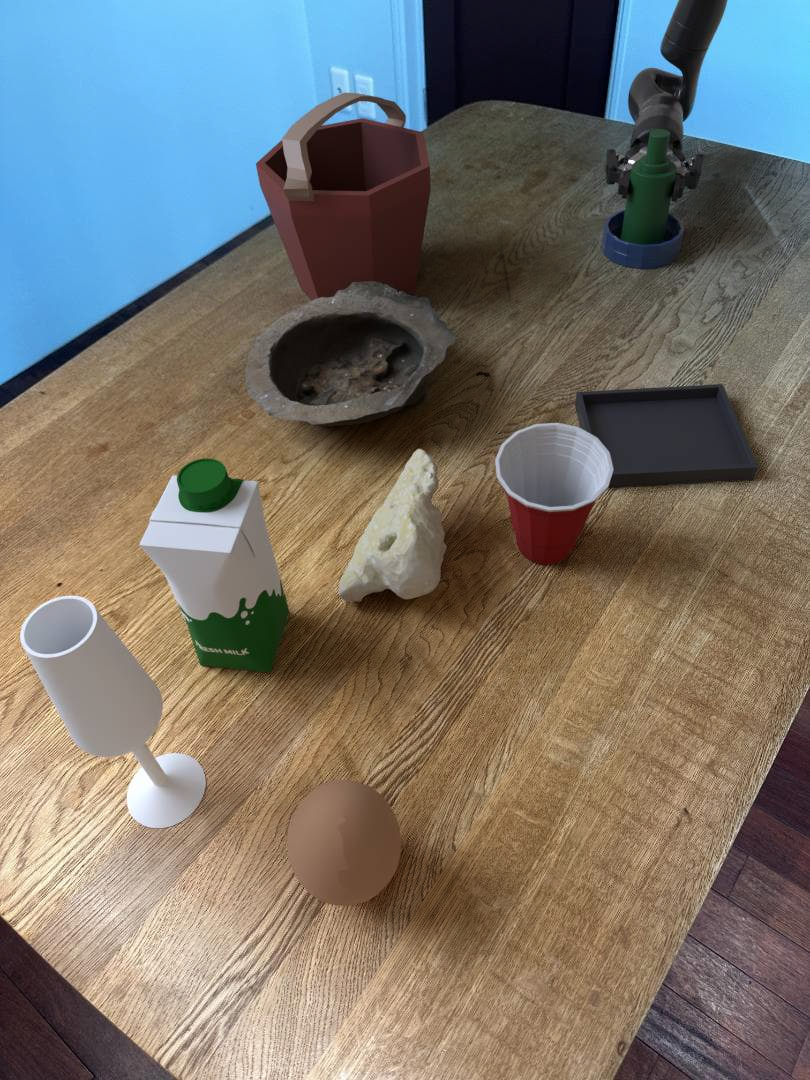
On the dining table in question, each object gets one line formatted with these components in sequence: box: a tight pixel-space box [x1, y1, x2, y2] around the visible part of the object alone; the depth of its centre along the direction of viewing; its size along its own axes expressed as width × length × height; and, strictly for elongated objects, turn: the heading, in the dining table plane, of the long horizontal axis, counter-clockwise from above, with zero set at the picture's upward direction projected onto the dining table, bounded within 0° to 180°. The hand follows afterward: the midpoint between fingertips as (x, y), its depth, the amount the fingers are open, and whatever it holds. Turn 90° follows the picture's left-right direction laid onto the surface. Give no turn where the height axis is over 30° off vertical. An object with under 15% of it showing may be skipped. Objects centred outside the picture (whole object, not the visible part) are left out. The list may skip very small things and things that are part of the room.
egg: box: [286, 779, 402, 907], centre depth 59 cm, size 8×8×11 cm
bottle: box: [621, 129, 677, 245], centre depth 113 cm, size 6×6×16 cm
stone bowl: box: [244, 281, 457, 427], centre depth 99 cm, size 25×25×9 cm
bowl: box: [601, 209, 685, 270], centre depth 118 cm, size 11×11×4 cm
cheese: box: [338, 448, 448, 603], centre depth 81 cm, size 15×7×15 cm
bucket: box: [255, 92, 432, 302], centre depth 109 cm, size 24×22×25 cm
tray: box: [574, 383, 759, 488], centre depth 92 cm, size 17×14×2 cm
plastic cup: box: [494, 422, 614, 566], centre depth 79 cm, size 11×11×12 cm
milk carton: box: [139, 457, 290, 674], centre depth 71 cm, size 9×9×20 cm
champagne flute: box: [19, 595, 207, 829], centre depth 60 cm, size 7×7×24 cm
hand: (650, 193), depth 111 cm, fingers closed on bottle, 6 cm apart
